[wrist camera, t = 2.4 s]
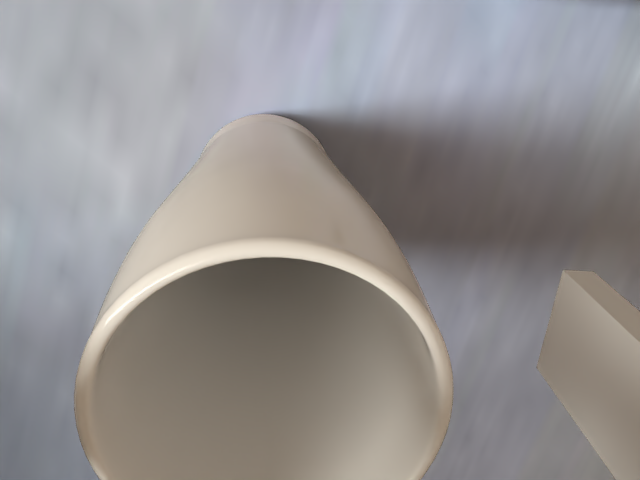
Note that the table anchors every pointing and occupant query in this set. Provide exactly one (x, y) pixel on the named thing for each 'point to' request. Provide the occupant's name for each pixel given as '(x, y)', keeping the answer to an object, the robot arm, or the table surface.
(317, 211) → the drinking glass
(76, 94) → the table surface
